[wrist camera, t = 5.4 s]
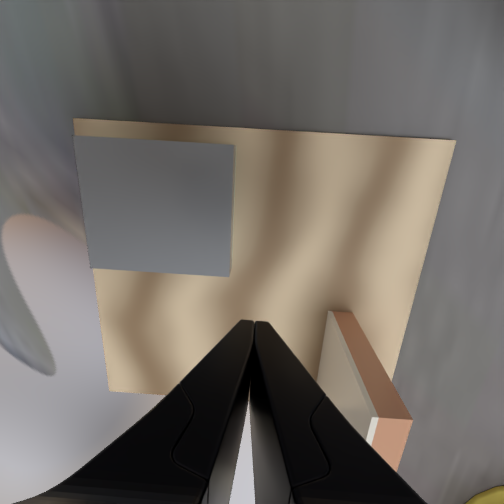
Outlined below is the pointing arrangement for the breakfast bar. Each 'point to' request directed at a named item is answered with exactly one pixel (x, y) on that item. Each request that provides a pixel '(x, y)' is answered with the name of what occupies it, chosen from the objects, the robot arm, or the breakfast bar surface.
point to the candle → (489, 496)
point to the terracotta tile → (362, 387)
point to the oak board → (282, 250)
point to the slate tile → (157, 204)
